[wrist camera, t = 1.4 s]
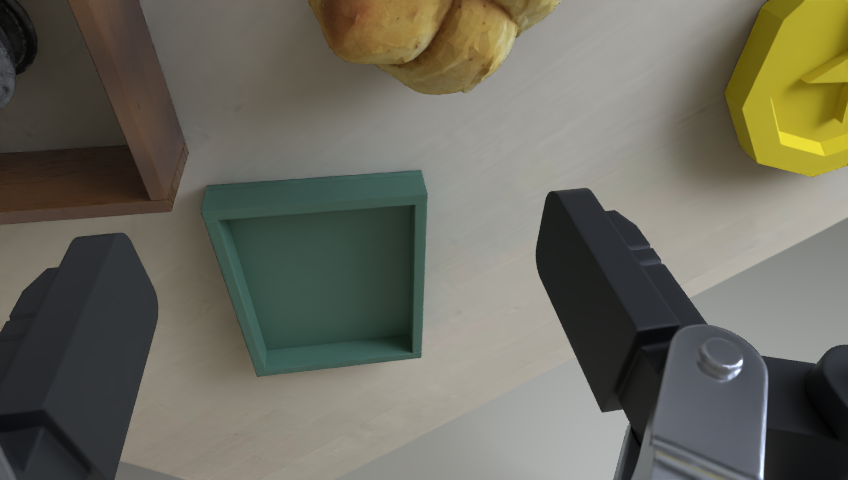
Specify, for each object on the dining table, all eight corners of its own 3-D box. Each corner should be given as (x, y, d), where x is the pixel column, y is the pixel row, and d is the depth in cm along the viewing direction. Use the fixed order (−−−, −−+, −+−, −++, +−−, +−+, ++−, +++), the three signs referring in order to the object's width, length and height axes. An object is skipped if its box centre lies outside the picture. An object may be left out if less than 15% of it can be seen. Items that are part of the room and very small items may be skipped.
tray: (206, 185, 33) (200, 211, 31) (421, 169, 35) (427, 194, 33) (259, 350, 45) (257, 377, 43) (417, 333, 47) (421, 357, 45)
